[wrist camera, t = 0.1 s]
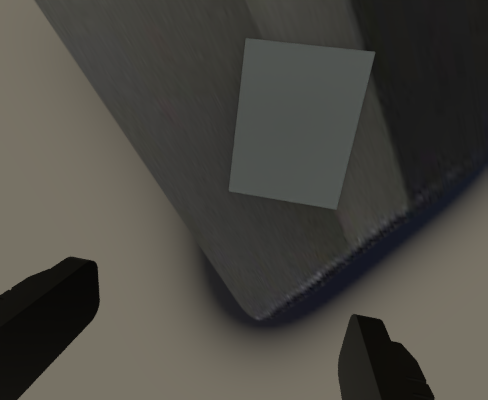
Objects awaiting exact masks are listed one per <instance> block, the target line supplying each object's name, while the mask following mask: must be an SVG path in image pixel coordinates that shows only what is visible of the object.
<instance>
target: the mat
mask: <svg viewBox="0 0 488 400" xmlns="http://www.w3.org/2000/svg"><path fill="white" fill-rule="evenodd" d="M374 56H375V52H371V51H361V50H352V49H343V48H333V47H324V46H314V45H305V44H296V43H286V42H277V41H268V40H258V39H249V38H246V41H245V50H244V59H243V68H242V77H241V86H240V95H239V103H238V112H237V121H236V130H235V139H234V148H233V157H232V166H231V174H230V183H229V191H230V192H236V193H242V194H248V195H254V196H260V197H265V198H271V199H277V200H283V201H289V202H295V203H301V204H307V205H312V206H318V207H324V208H330V209H337V205H338V201H339V197H340V193H341V189H342V185H343V181H344V177H345V173H346V169H347V165H348V161H349V157H350V153H351V149H352V145H353V141H354V137H355V133H356V128H357V124H358V120H359V116H360V112H361V108H362V104H363V100H364V96H365V92H366V88H367V84H368V80H369V76H370V72H371V68H372V64H373V60H374Z"/></svg>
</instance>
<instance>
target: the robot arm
mask: <svg viewBox="0 0 488 400" xmlns="http://www.w3.org/2000/svg"><path fill="white" fill-rule="evenodd" d="M99 302H100V298H99V282H98V267H97V264H96V262H94V261H91V260H86V259H81V258H76V257H68V258H66V259H64V260H63V261H61V262H60V263H58V264H57V265H55V266H54V267H52V268H51V269H48V270H45V271H42V272H40V273H37V274H35V275H32V276H30V277H28V278H26V279H25V280H23V281H22V282H20V283H18V284H17V285H15V286H14V287H12V289H11V290H8V291H6V292H4V293H3V294H1V295H0V400H17V399H18V398H19V397H20V396H21V395H22V394H23V393H24V392H25V391H26V390H27V389H28V388H29V387H30V386H31V385H32V384H33V382H34V381H35V380H36V379H37V378H38V377H39V376H40V375H41V374H42V373H43V372H44V371H45V370H46V369H47V367H49V365H50V364H51V363H52V362H53V361H54V360H55V359H56V358H57V357H58V356H59V355H60V354H61V353H62V352H63V351H64V350H65V349H66V348H67V346H68V345H69V344H70V343H71V342H72V341H73V340H74V339H75V338H76V337H77V336H78V335H79V334H80V333H81V332H82V331H83V330H84V329H85V327H86V326H87V325H88V324H89V323H90V322H91V321H92V320H93V318H94V317H95V315H96V313H97V311H98V308H99ZM338 377H339V384H340V389H341V396H342V400H434V395H433V393H432V391H431V389H430V387H429V385H428V384H426V379H425V377H424V375H423V373H422V371H421V369H420V367H419V365H418V362H417V361H416V360H415V358H414V357H413V356H412V355H411V354H410V353H409V352H408V351H407V349H406V348H405V347H404V346H403V345H402V344H401V343H398V342H393V341H391V340H390V337H389V335H388V332H387V330H386V328H385V325H384V323H383V321H382V320H380V319H376V318H371V317H366V316H361V315H356V314H353V315H352V316H351V318H350V320H349V324H348V327H347V331H346V334H345V337H344V341H343V344H342V348H341V351H340V355H339V362H338Z"/></svg>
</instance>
